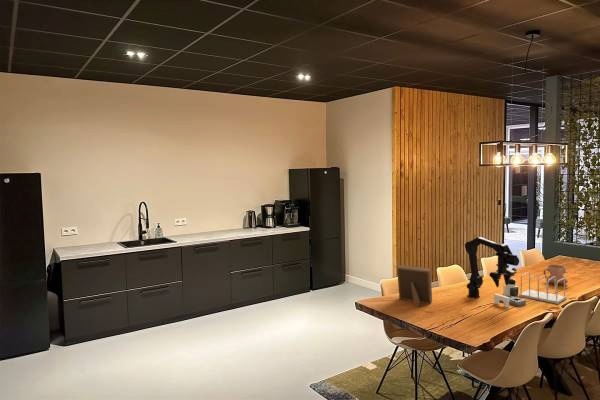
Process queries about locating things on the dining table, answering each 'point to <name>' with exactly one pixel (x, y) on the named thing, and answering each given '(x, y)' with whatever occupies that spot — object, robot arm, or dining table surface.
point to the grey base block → (516, 301)
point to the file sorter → (542, 295)
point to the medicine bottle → (510, 288)
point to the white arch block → (501, 299)
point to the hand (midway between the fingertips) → (502, 286)
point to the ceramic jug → (556, 274)
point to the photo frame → (414, 284)
